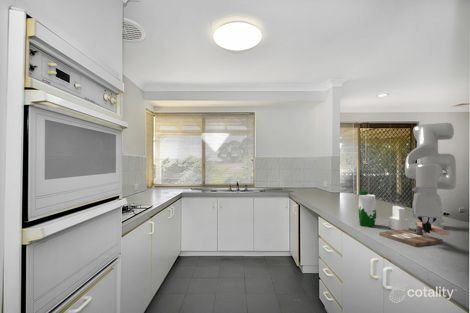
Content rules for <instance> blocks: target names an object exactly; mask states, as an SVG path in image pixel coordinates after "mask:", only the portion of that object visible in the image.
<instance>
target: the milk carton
mask: <svg viewBox="0 0 470 313" xmlns="http://www.w3.org/2000/svg"><path fill="white" fill-rule="evenodd" d="M358 193H359V194H358V219H359V226H361V227H367V228H375V225H376V224H375V223H376V220H377V200H376V194H371V193H370V194H368V191H367V190H359V192H358Z"/></svg>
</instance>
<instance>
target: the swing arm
mask: <svg viewBox="0 0 470 313" xmlns="http://www.w3.org/2000/svg"><path fill="white" fill-rule="evenodd" d="M415 225H416V226H420V227H422V222H421V221H419V220H415ZM431 232H432V233H434V234H436V235H439V236H450V231H449V230H446V229H444V228H443V229H442V228H439V227H436V226H434V225H431V231H430V233H431Z"/></svg>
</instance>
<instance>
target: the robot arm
mask: <svg viewBox="0 0 470 313" xmlns="http://www.w3.org/2000/svg"><path fill="white" fill-rule="evenodd" d="M412 130H413V131H412V132H413V133H412V134H413V137H414V138H415V140H416V142H417V143H416V147H415V148H414V149H412V150H411V151H410V152H409V153H408V154H407V155H406V158H405V163H404V174H405V176H406V177H407V178H408V179H413V180H414V179H415V187H412V188H411V189H412V190H411V191H413V192H415V193H414V194H413V197H412V198H413V199H412V209H411V211H412V215H411V218H414V219H417V220H418V221H421V222H422V230H423V232H424V233H429V234H430V233H431V225H434V226H436V227H439V228H442V229H444V227H445V226H444V224H443V223H444V222H445V220H444V219H443V218H442V217H443V205H442V199H441V196H440V194H439V193H438V190H447V191H449V190H455V189H456V187H457V160H456V157H455V155H454V154H451V153H440V152H439V141H440V140H441V141H443V140H444V141H445V140H452V139H453V138H454V135H455V128H454V125H453V124H452V123H451V122H438V123H425V124H418V125H415V126H413V129H412ZM417 160H419V163H416V161H417ZM441 223H442V224H443V225H442V224H441Z"/></svg>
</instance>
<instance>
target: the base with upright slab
mask: <svg viewBox="0 0 470 313" xmlns="http://www.w3.org/2000/svg"><path fill="white" fill-rule="evenodd" d="M388 219H389V220H388V222H389V223H388V224H389V226H388V227H389V229H390V228H391V229H390V230H393V229H394V230H393V231H395V230H403V229H405V230H409V218H408V217H406V208H404V207H402V206H399V205H392V216H389V218H388ZM409 231H410V230H409Z"/></svg>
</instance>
